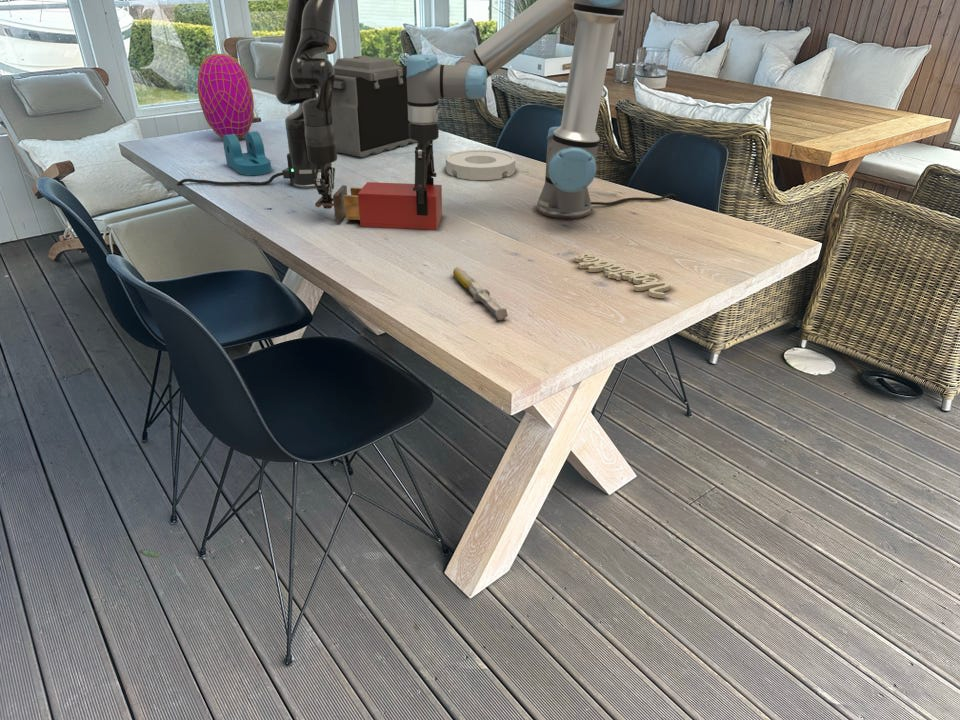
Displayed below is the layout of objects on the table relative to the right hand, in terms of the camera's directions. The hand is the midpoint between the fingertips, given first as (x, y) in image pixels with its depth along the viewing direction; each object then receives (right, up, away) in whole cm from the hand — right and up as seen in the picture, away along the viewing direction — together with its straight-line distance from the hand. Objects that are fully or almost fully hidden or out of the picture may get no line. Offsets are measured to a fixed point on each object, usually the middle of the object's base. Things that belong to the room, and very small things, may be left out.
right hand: (425, 208), depth 183 cm
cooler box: (-26, +40, +75) cm, 89 cm away
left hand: (-27, +1, +2) cm, 27 cm away
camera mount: (-62, +23, +46) cm, 81 cm away
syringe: (+14, -27, -38) cm, 49 cm away
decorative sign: (+47, -21, -27) cm, 59 cm away
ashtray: (+15, +23, +47) cm, 54 cm away
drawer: (-17, -2, +3) cm, 17 cm away
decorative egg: (-81, +45, +82) cm, 124 cm away
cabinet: (-7, -3, +3) cm, 8 cm away
